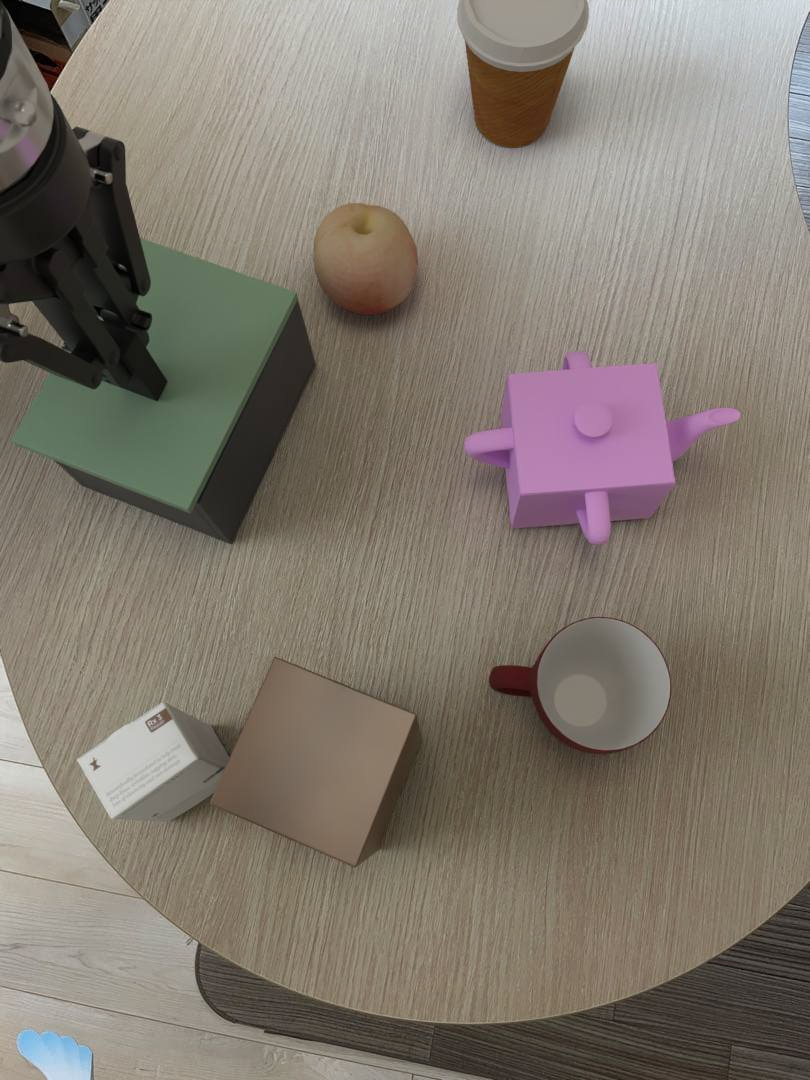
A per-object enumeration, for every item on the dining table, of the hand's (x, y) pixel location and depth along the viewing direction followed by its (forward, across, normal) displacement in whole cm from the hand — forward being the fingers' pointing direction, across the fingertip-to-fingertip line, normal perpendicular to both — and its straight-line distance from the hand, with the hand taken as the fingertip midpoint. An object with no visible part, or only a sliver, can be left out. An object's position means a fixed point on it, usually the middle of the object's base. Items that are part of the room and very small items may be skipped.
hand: (143, 384), depth 61 cm
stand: (+11, -17, -20) cm, 29 cm away
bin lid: (+1, +2, 0) cm, 2 cm away
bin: (+11, +2, 0) cm, 11 cm away
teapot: (+12, +9, -28) cm, 32 cm away
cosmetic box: (+12, -21, -10) cm, 26 cm away
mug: (+12, -7, -32) cm, 35 cm away
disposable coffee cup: (+12, +37, -12) cm, 40 cm away
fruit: (+12, +18, -8) cm, 22 cm away
